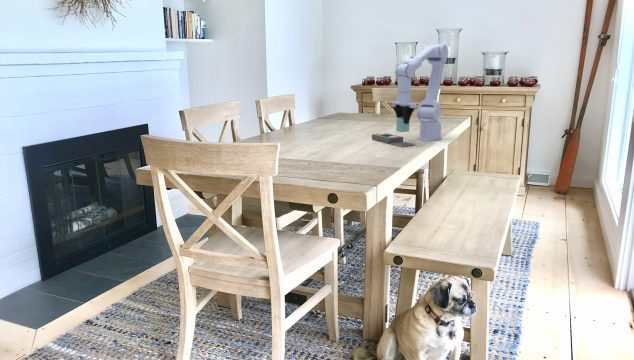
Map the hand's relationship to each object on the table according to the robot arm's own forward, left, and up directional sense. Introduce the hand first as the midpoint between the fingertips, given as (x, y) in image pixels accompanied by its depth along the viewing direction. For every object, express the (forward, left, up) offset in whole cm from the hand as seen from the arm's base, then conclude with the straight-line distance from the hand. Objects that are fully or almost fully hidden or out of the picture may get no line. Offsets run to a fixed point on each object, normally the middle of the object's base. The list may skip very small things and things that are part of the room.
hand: (403, 123), depth 233 cm
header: (0, -12, -10) cm, 15 cm away
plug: (0, 0, -4) cm, 4 cm away
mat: (0, 0, -10) cm, 10 cm away
